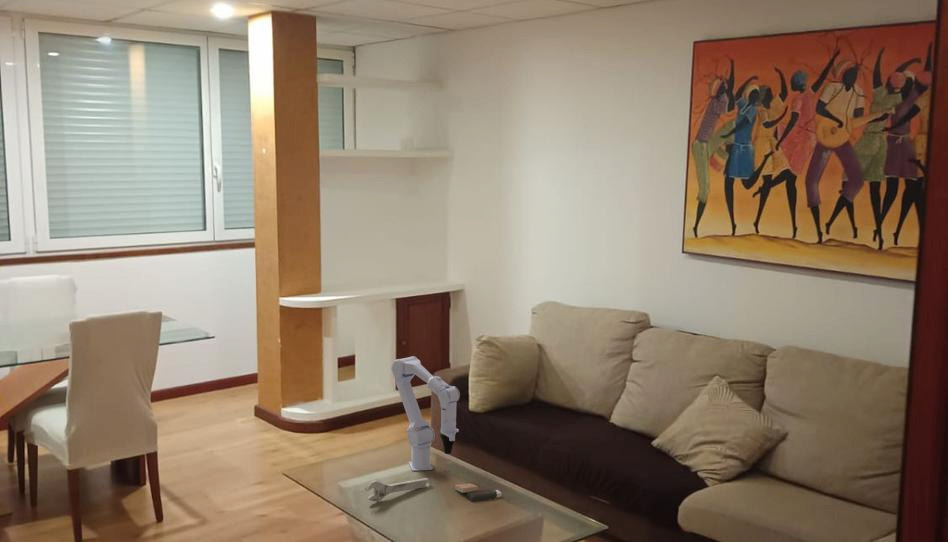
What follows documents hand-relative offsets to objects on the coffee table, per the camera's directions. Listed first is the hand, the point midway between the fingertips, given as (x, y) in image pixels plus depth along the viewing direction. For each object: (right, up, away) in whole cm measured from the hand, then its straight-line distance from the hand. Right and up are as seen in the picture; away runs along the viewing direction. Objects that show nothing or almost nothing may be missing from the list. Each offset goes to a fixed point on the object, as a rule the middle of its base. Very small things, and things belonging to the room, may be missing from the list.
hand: (447, 453), depth 311 cm
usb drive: (+14, -13, -17) cm, 25 cm away
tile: (+7, -10, -13) cm, 18 cm away
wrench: (-17, -12, -17) cm, 27 cm away
